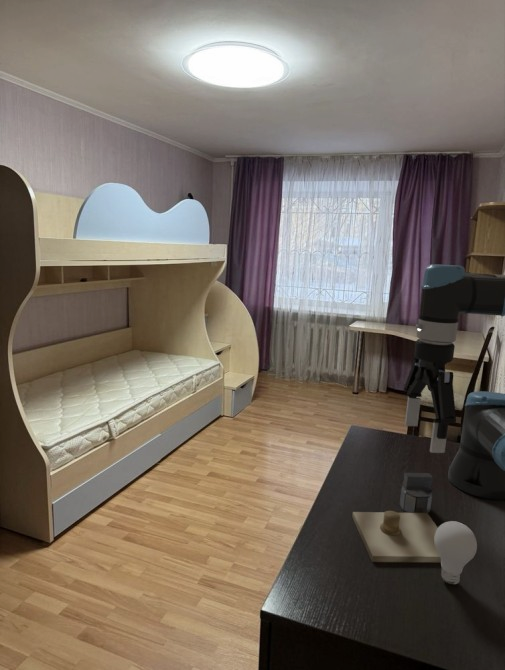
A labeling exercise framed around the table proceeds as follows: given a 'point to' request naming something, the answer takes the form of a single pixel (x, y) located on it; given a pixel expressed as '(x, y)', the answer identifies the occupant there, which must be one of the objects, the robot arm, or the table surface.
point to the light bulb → (454, 549)
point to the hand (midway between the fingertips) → (423, 438)
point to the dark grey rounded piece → (416, 492)
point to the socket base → (397, 536)
